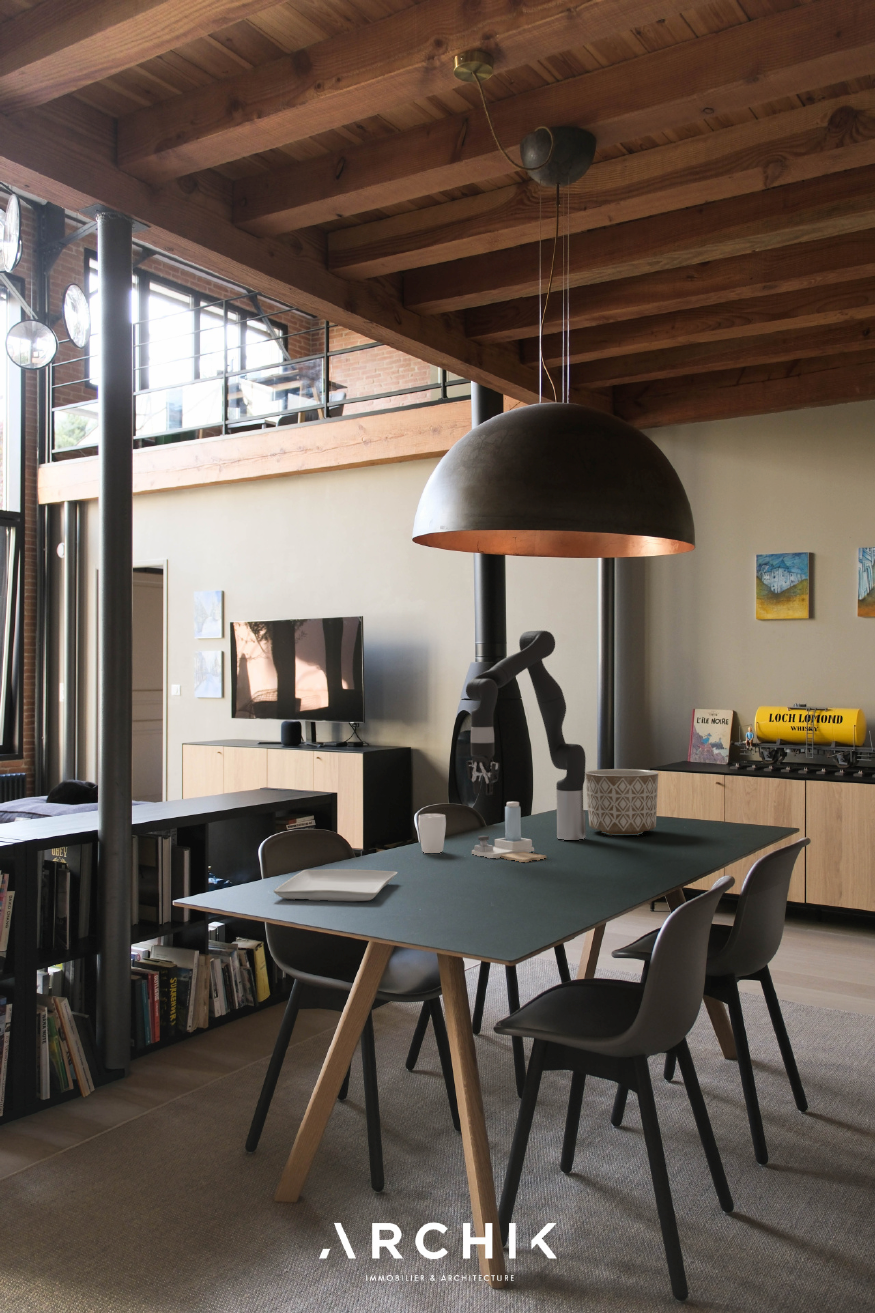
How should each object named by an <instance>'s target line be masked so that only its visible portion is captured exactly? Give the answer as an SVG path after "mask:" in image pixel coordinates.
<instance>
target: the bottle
mask: <svg viewBox="0 0 875 1313" xmlns="http://www.w3.org/2000/svg"><path fill="white" fill-rule="evenodd" d="M521 809H522V808H521V806H520V802H519V801H507V802H506V806H504V824H505V828H504V829H505V830H504V832H505V835H504V836H505V837H504V838H505V841H511V842H515V841H521V838H522V830H521V829H522V827H521V826H522V825H521V824H522V822H521V821H522V819H521V818H522V817H521V813H522V812H521Z"/></svg>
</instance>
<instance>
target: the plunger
mask: <svg viewBox="0 0 875 1313" xmlns="http://www.w3.org/2000/svg"><path fill="white" fill-rule="evenodd" d="M477 837H478V840H479V842H480V844H479V845H480V846H482V847H485V846H487V845H488V841H489V840H490V836H489V835H479V836H477Z"/></svg>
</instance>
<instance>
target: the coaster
mask: <svg viewBox="0 0 875 1313" xmlns="http://www.w3.org/2000/svg"><path fill="white" fill-rule="evenodd" d="M501 858H504V859H503V860H506V859H507V861H511V860H515V861H514V862H516V861H519V862H518V863H521V862H525V863H530V862H529V861H531V862H533V861H532V860H537V861H541V860H540V859H543V860H545V859H544V858H546V859H547V855H545V854H539V853H535V852H533V853H529V852H518V853H512V854H506V855H501ZM501 858H500V859H501Z"/></svg>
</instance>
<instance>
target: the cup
mask: <svg viewBox="0 0 875 1313" xmlns="http://www.w3.org/2000/svg"><path fill="white" fill-rule="evenodd" d="M417 823H418V832H419V839H420V845H421V847H420V848H421V852H422V851H423V852H424V853H423V852H422V853H423V854H425V853H440V852H442V851H444V843H445V835H446V829H447V828H446V826H447V820H446V814H444V813H443V814H442V813H422V814H419V815H418V822H417ZM442 853H443V852H442ZM440 854H441V853H440Z"/></svg>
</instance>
